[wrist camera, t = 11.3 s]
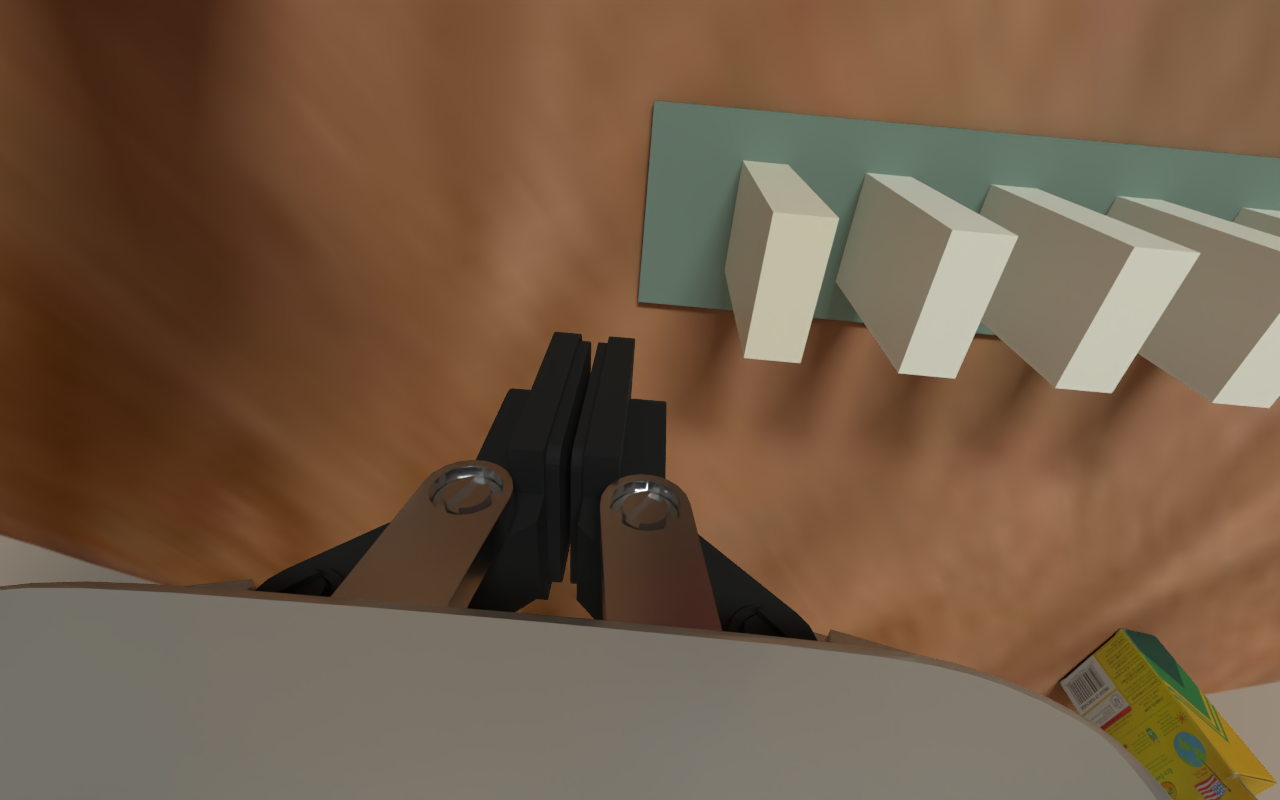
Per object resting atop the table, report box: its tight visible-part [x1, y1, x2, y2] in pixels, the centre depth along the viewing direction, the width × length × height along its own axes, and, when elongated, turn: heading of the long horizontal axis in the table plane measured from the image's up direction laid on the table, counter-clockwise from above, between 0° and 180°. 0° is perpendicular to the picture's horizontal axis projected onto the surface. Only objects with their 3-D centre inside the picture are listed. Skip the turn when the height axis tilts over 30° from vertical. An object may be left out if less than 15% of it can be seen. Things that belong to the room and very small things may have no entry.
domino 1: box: [724, 160, 839, 363], centre depth 22 cm, size 2×5×9 cm, turn 176°
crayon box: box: [1059, 629, 1276, 800], centre depth 37 cm, size 7×3×12 cm, turn 166°
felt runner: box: [638, 101, 1280, 335], centre depth 26 cm, size 32×9×1 cm, turn 86°
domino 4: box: [1107, 196, 1280, 408], centre depth 22 cm, size 2×5×9 cm, turn 176°
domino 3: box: [980, 184, 1201, 393], centre depth 22 cm, size 2×5×9 cm, turn 175°
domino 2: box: [836, 173, 1018, 379], centre depth 22 cm, size 2×5×9 cm, turn 176°
